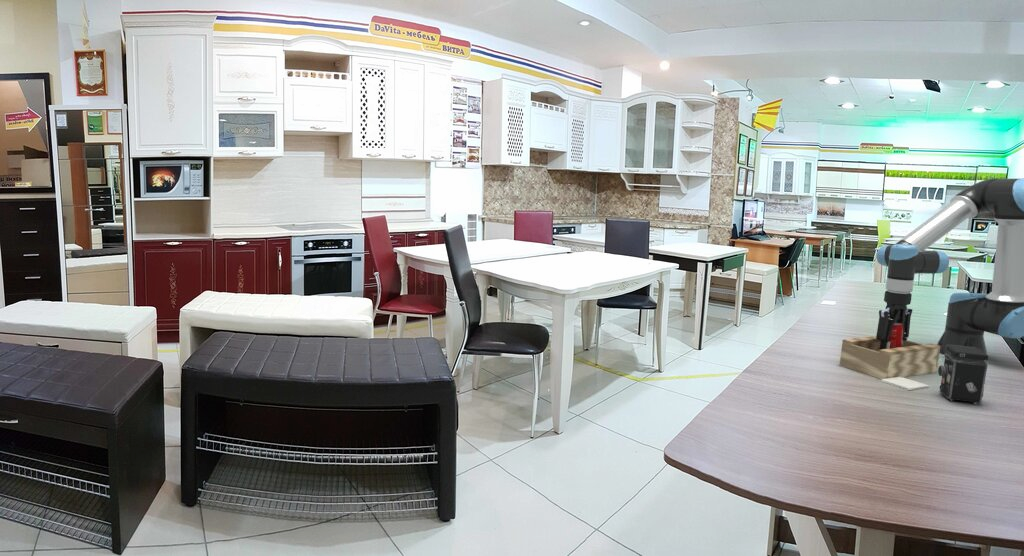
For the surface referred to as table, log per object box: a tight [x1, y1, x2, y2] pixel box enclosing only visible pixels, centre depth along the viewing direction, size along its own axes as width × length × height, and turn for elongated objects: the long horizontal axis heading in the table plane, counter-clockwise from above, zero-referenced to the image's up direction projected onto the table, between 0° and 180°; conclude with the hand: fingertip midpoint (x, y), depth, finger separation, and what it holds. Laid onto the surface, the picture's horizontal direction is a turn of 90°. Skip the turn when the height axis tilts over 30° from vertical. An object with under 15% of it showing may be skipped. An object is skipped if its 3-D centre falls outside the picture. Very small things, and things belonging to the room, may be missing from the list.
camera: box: [937, 345, 989, 405], centre depth 175 cm, size 10×11×15 cm
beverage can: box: [888, 322, 903, 348], centre depth 202 cm, size 6×6×15 cm
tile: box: [880, 377, 930, 391], centre depth 187 cm, size 9×9×1 cm
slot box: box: [839, 335, 941, 380], centre depth 202 cm, size 26×16×9 cm, turn 114°
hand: (889, 359), depth 203 cm, fingers closed on beverage can, 6 cm apart
